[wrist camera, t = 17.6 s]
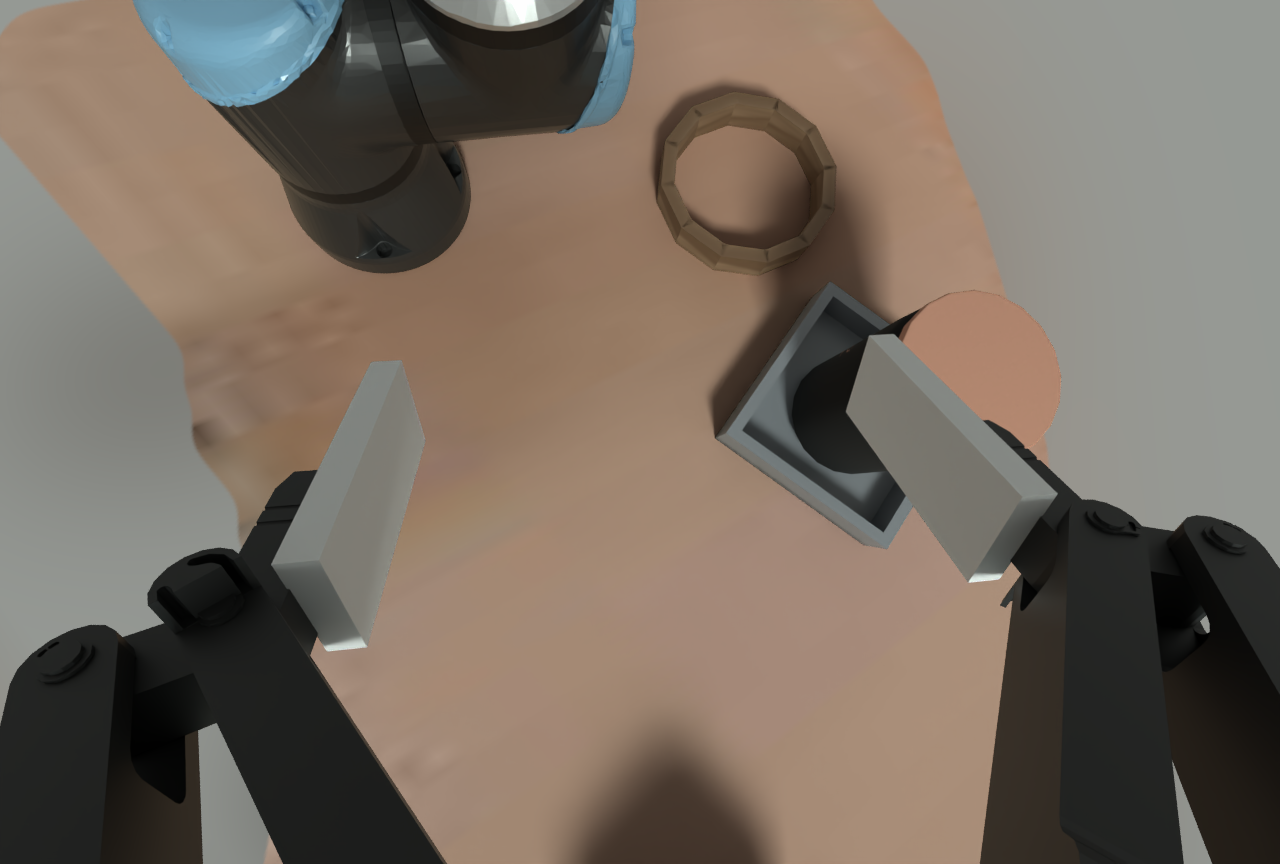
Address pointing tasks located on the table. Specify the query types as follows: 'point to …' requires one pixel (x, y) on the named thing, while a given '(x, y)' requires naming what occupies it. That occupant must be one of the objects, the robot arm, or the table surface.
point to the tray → (769, 437)
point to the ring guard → (784, 129)
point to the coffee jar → (941, 376)
